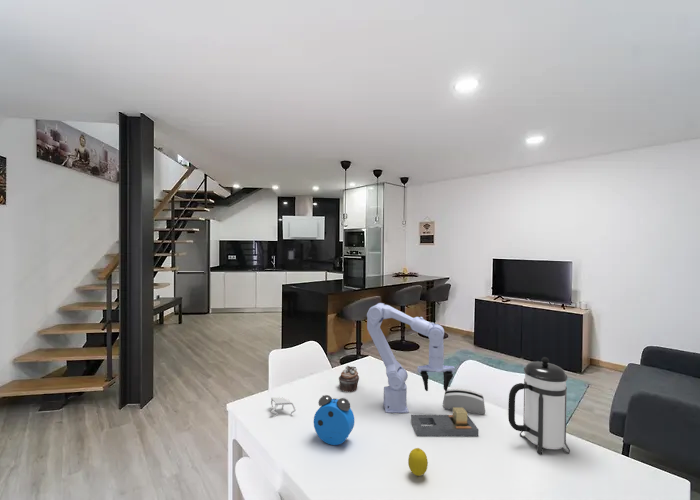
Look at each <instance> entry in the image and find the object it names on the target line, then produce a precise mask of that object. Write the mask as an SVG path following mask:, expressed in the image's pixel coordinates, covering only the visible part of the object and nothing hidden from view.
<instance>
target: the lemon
mask: <svg viewBox="0 0 700 500" xmlns="http://www.w3.org/2000/svg"><path fill="white" fill-rule="evenodd" d="M407 461H408V462H407V463H408V468H409V470H410V471H411V473H412V474H413V475H414V476H416V477H420V476H421V477H422V476H423V475H424V474H426V472H427V469H428V467H429V465H428V463H429V462H428V458H427V454H426V452H425V451H424V450H423V449H422V448H419V447H415V448H413V449H412V450H410V453H409V455H408V460H407Z"/></svg>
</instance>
